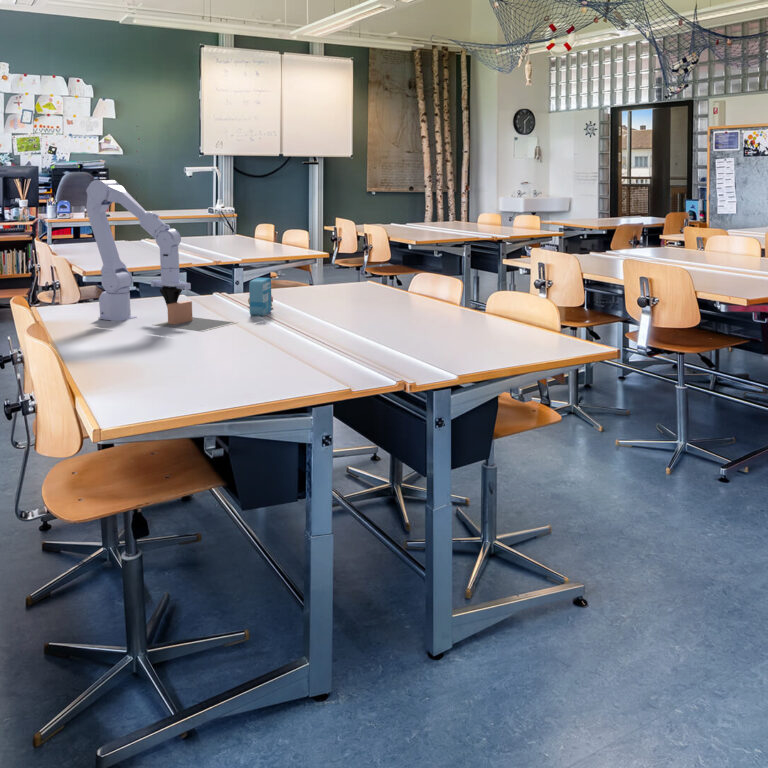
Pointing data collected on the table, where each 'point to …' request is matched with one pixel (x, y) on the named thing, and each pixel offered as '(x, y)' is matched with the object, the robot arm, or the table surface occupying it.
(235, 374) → the table surface
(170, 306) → the card box
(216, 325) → the mat
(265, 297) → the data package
